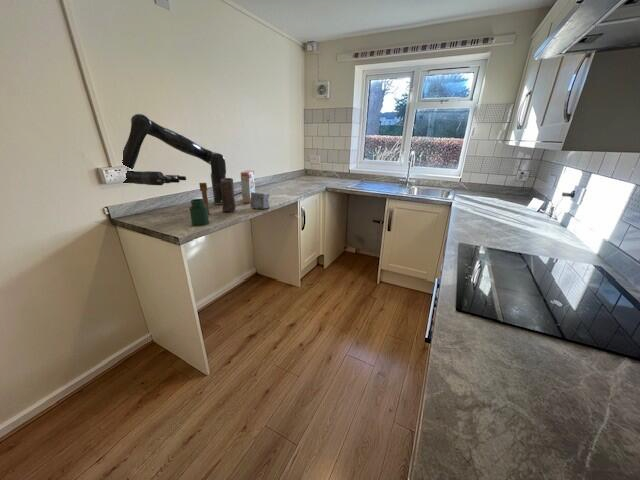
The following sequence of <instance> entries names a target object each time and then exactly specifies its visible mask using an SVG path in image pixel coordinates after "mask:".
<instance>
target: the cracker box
mask: <svg viewBox="0 0 640 480" xmlns="http://www.w3.org/2000/svg"><path fill="white" fill-rule="evenodd" d="M255 183H256V182H255V171H254V170H247V169H245V170H244V171H241V172H240V185H241V186H240V187H241V192H242V193H241V197H242V198H241V199H242V203H243V204H251V192H256V186H255Z"/></svg>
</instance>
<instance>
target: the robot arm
mask: <svg viewBox="0 0 640 480" xmlns="http://www.w3.org/2000/svg"><path fill="white" fill-rule="evenodd" d="M147 135H149V136H151V137H154V138H156V139H158V140H160V141H161V142H163V143H164V144H166V145H168V146H170V147H171V148H173V149H175V150H177V151H179V152H181V153H183V154H186V155H189V156H192V157H195V158H198V159H200V160H202V161H204V162H205V163H207V164H209V165H210V170H211V171H210V180H211V188H212V195H213V204H214V205H219V206H221V205H222V193H221V181H220V180H221V179H224V178H227V177H226V175H227V165H226V158H225V156H224V155H223V154H221V152H217V151H212V150H210V149H207V148H205V147H203V146H201V145H200V144H199V143H197V142H196V141H194V140H193V139H191V138H190V137H188V136H185V135H184V134H183V133H182V134H181V133H179V132H177V131H175V130H173V129H169V128H167V127H164V126H162V125H160V124H159V123H157V122H155V121H153V120H152V119H150V117H148V116H147V115H145V114H142V113H136V114H134V115H132V116H131V118H130V132H129V135H128V138H127V140H126V143H125V145H124V147H123V149H124V150H123V149H122V151H123V160H122V161H123V162H122V163H123V165H125V166H127V167H129V168H131V169H133V168H134V169H135V167H136V163H137V160H138V158H139V154H140V150H141V147H142V145H143V143H144V140H145V138H146V137H147ZM126 178H127V179H126V180H125V181H124V182H123V183H129V184H135V185H147V186H163V185H164V184H171V183H175V184H179V183H180V181H187V176H185V175H179V174H164V173H163V172H162V171H152V170H147V171H145V170H144V171H142V170H141V171H139V170H134V171H127V173H126ZM239 194H242V191H240V192H236V193H234V196H236V195H239Z"/></svg>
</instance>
